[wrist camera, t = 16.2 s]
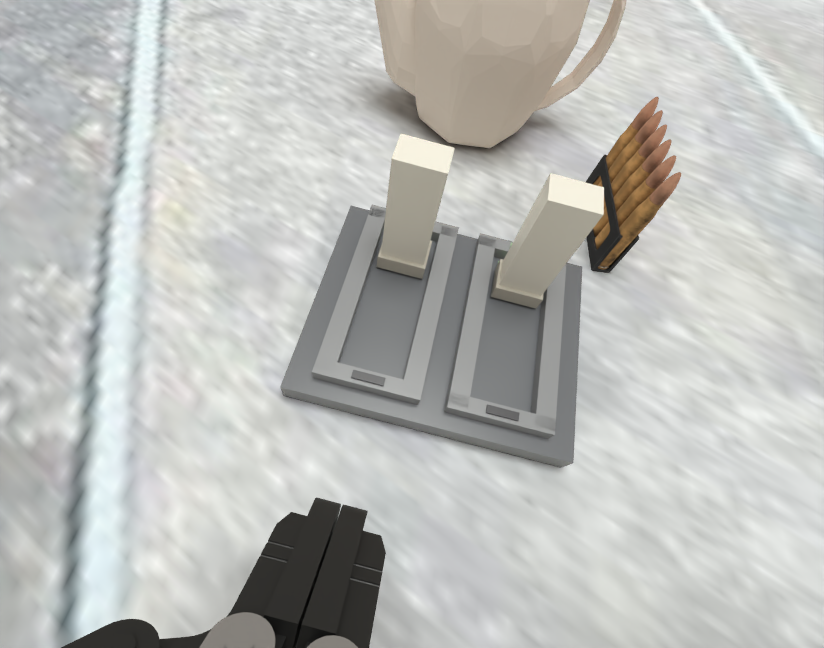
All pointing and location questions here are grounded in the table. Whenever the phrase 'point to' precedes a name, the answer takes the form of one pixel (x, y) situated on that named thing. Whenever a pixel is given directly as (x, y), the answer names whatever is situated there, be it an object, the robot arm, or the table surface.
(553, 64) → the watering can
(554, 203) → the tab
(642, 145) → the ammunition clip
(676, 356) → the table surface
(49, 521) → the table surface
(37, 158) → the table surface
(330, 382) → the switch board
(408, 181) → the tab
